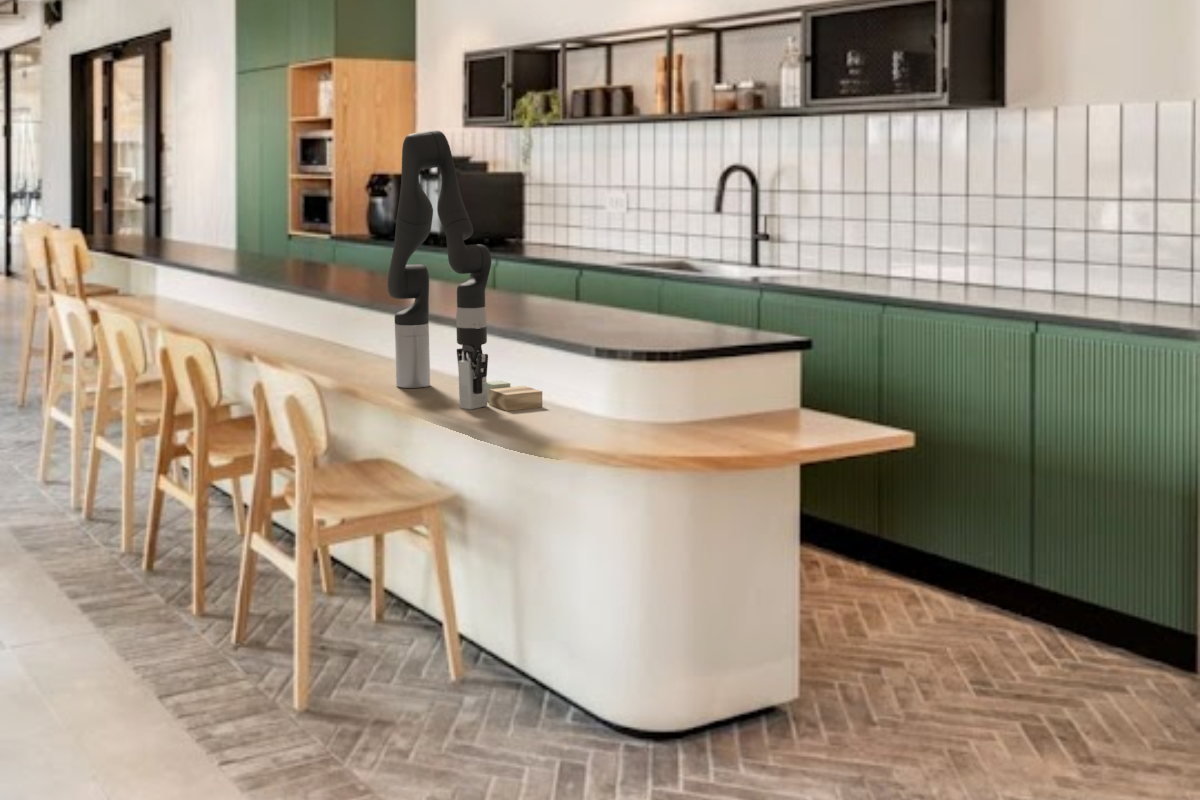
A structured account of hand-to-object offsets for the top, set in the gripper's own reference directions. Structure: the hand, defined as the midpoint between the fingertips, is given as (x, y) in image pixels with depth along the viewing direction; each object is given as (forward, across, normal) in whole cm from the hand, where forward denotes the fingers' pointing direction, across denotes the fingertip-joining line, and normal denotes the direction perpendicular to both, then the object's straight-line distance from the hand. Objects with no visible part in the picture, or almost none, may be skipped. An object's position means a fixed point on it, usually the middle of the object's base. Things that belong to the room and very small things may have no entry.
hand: (472, 391), depth 368 cm
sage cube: (+4, -4, +9) cm, 11 cm away
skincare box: (+4, 0, 0) cm, 4 cm away
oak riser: (+4, +4, +10) cm, 11 cm away
